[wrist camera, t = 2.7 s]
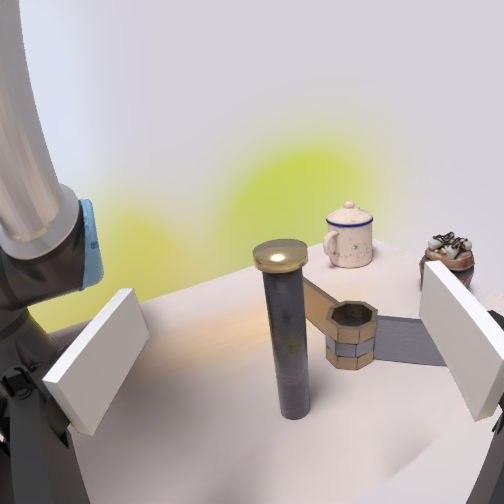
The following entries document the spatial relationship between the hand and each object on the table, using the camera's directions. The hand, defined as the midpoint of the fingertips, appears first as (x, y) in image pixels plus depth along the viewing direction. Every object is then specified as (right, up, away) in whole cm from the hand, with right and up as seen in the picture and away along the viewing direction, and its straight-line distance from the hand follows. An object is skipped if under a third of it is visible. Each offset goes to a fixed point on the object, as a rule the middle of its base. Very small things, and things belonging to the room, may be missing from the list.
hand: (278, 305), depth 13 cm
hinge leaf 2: (+16, -11, +20) cm, 28 cm away
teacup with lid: (+17, 0, +47) cm, 50 cm away
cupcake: (+30, -4, +31) cm, 44 cm away
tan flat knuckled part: (+9, -8, +28) cm, 31 cm away
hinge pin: (+3, -14, +17) cm, 22 cm away
